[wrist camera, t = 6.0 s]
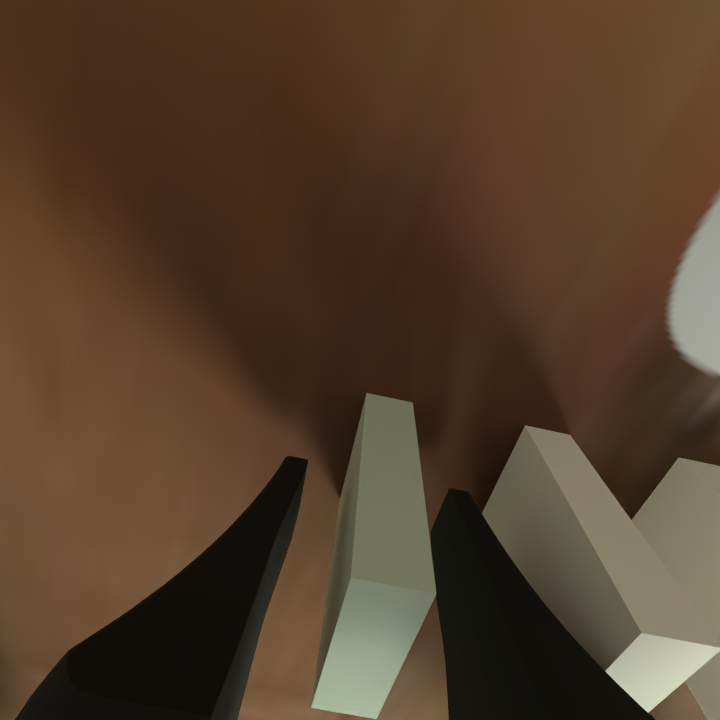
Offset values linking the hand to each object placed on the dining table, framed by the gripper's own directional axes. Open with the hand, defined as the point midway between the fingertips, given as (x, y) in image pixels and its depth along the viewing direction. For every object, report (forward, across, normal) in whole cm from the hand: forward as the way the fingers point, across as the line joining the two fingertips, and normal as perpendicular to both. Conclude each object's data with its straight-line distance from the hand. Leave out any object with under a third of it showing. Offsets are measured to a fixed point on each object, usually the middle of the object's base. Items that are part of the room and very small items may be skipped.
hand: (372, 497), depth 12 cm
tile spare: (+2, 0, 0) cm, 2 cm away
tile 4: (+2, -6, 0) cm, 6 cm away
